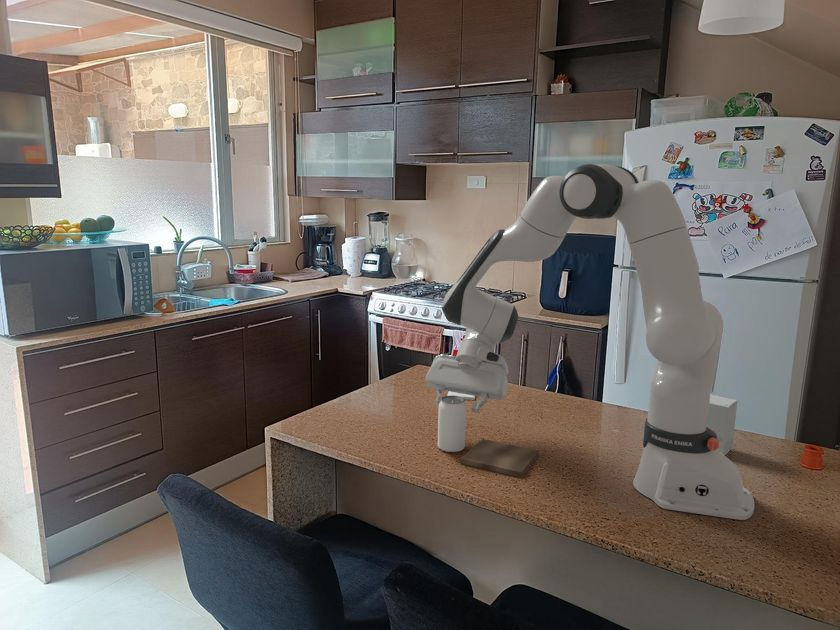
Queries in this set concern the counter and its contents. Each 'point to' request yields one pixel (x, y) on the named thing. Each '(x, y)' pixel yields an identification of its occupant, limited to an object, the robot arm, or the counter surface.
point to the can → (451, 424)
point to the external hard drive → (461, 395)
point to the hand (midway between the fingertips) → (456, 408)
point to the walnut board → (500, 457)
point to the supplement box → (722, 421)
